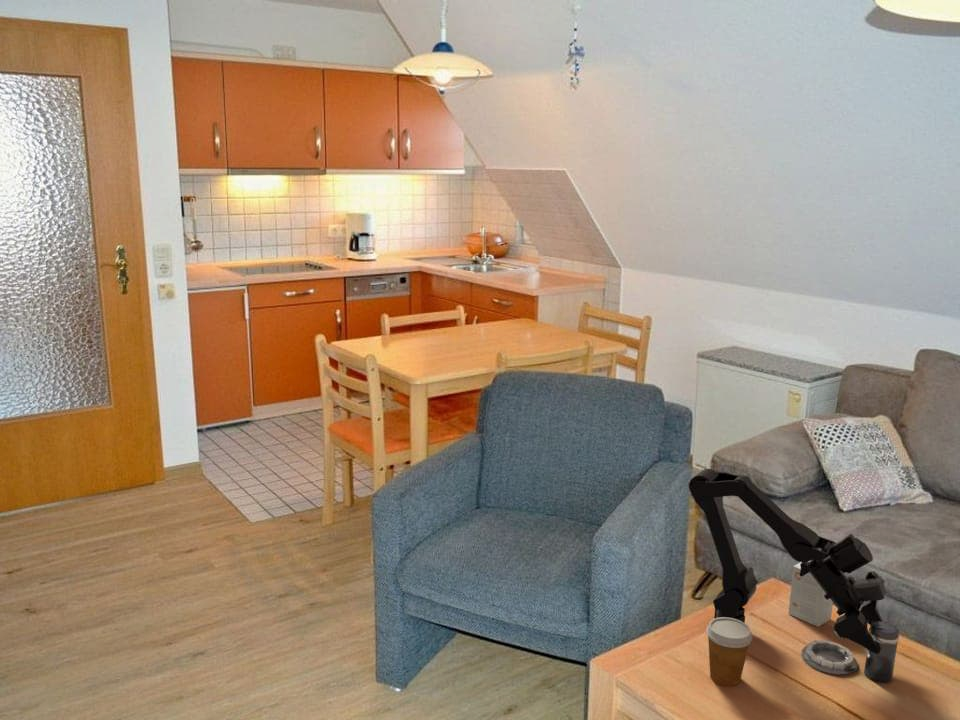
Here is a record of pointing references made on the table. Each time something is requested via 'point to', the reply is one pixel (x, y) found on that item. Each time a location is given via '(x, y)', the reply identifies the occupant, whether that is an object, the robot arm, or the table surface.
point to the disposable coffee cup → (727, 649)
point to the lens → (882, 652)
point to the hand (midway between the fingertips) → (882, 643)
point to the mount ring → (829, 658)
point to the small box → (808, 599)
